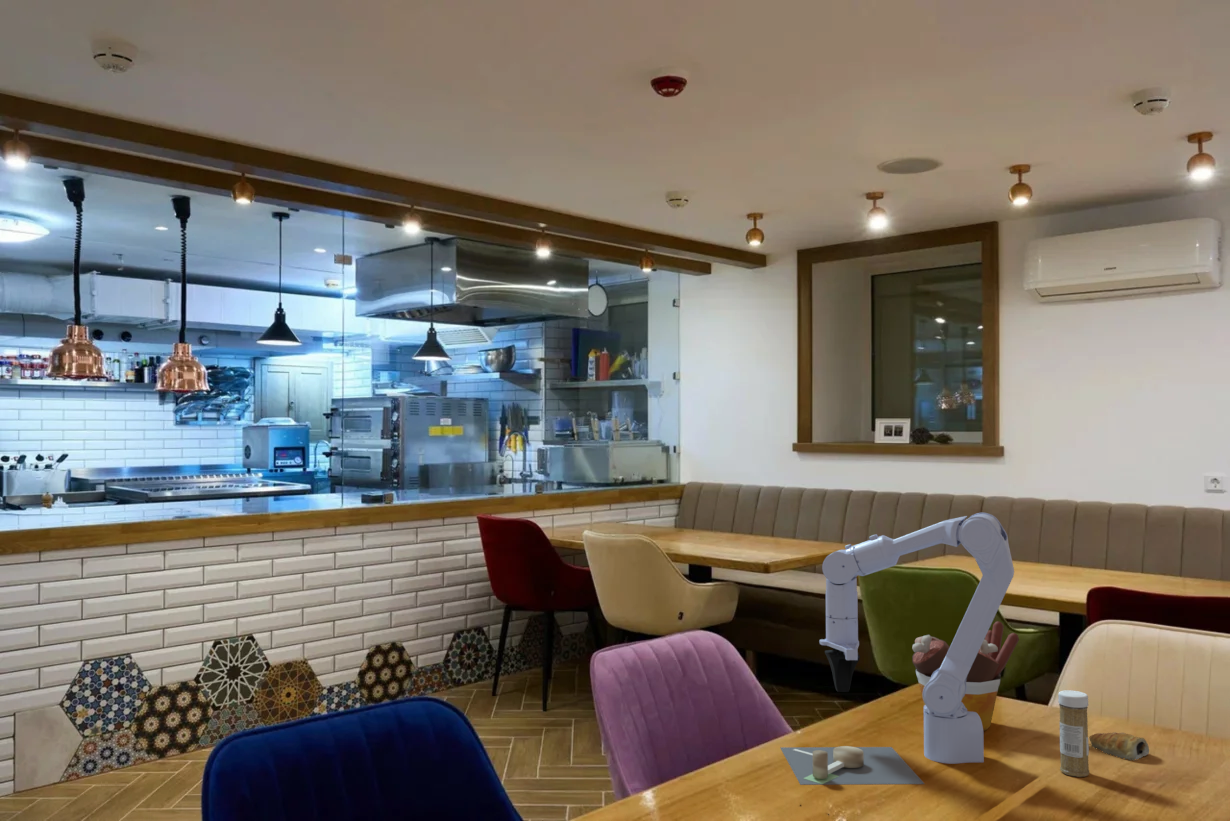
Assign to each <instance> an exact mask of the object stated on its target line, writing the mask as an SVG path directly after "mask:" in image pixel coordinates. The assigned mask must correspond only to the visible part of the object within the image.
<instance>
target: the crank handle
mask: <svg viewBox="0 0 1230 821" xmlns="http://www.w3.org/2000/svg"><path fill="white" fill-rule="evenodd" d="M835 747H836V748H834V749H833V762H834V763H832V764H830V765H828V753H827V752H826V751H822V750H815V751H813V777H815V778H818V779H825V778H827V777H828V774H830V773H832V772H834V771H836V770H838V769H840V768H842V767H845V768H858V767H861V766H863V765H864V752H863V750H861V749H859V748H856V747H857V746H850V745H842V746H835Z"/></svg>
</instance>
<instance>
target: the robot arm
mask: <svg viewBox="0 0 1230 821" xmlns="http://www.w3.org/2000/svg"><path fill="white" fill-rule="evenodd" d="M967 517H968V515H964V516H960V517H955V518H949V519H945V520H942V521H940V522H937V523H934V524H931V525H929V526H926V527H923V528H921V529H918V530H915V531H913V532H910V533H907V534H904V535H902V536H899V537H897V538H891V537H889V536H886V535H885V534H882V535H879V536H878V534H877V533H876V534H872V535H870V536H869V537H868V540H866V541H863V542H860V543H857V544H854V545H852V543H849V544H847V545H844V548H845V549H839V550H835V551H833V552H832V553H830V554H828V555H827V556H826V557H825V558H824V560H823V562H822V566H821V567H822V573H823V576H824V578H825V638H824V639H823V638H821V639H819V645H821V646H827V647H830V648H832V649H828V650H826V649H825V650H824V654H825V655H826V656H825V657H826V658H827V661H828V663H829V666H830V670H831V672H832V673H831V674H832V679H833V684H834V687H835V690H836V691H837V693H849V692H850V688H851V685H852V679H853V675H854V671H855V669H856V667H857V664H858V662H859V661H860V658H861V656H860V654H859V652H858V649H859V646H860V641H859V620H858V618H859V615H858V614H859V613H858V612H859V611H858V608H859V607H858V605H859V604H858V603H859V602H858V598H859V597H858V589H857V588H858V584H857V582H858V580H857V579H858V578H857V577H858V576H859V577H865V576H868V575H870V574H873V573H877V572H880V571H883V570H885V569H886V570H887V569H888V568H892V567H895V566H896V565H897V563H898V562H899V558H900V556H901V557H902V556H904V555H907V554H910V553H913V552H917V551H920V550H925V549H927V548H930V547H934V546H937V545H940V544H944V545H949V546H952V547H954V548H957V547H959V546H960V545H962V547H963V548H964V549H965V550H966V551H967V552H968V553H969V554H970V555H971V556H972V557H973V559H975V562H976V564H977V566H978V568H979V570H980V572H981V574H982V576H981V578H980V581H979V583H978V585H977V587H976V589H975V592H974V594H973V595H972V598H971V600H970V602H969V604H968V607H967V608H966V611H965V613H964V615H963V618H962V620H961V622H960V624H959V626H958V628H957V630H956V633H955V635H954V637H953V639H952V642H951V644H950V645H949V647H950V648H949V650H948V652H947V654H946V656H945V659H944V661H943V663H942V665H941V667H940V668H939V669H937V670H936V671H935V672H934V673H933V674H932V675H931V678H930V681H929V682H928V683H927V684H926V685H925V687H924V689H923V698H922V701H923V700H924V703H925V706H924V705H923V754H924V757H925V758H926V759H928V760H930V761H933V762H937V763H939V764H940V763H941V764H948V765H949V764H950V765H951V764H952V765H953V764H955V765H956V764H965V763H984V762H985V761H984V760H985V759H984V758H985V757H984V756H985V755H984V752H985V751H984V749H985V747H984V746H985V745H984V742H985V741H984V731H983V726H982V722H981V719H980V717H979V715H978V714H977V713H976V712H971V711H967V708H965V706H964V704H963V703H962V702H961V700H962V698H963V697H964V696H965V693H966V690H967V685H966V678H967V675H968V673H969V671H970V669H971V666H972V664H973V662H974V660H975V658H976V656H977V653H978V651H979V649H980V647H981V645H982V643H983V641H984V640H985V636H986V634H987V632H988V631H989V630H990V628H991V626H992V623H993V621H994V619H995V617H996V614H997V612H998V611H999V608H1000V606H1001V604H1002V601H1003V599H1004V597H1005V595H1006V594H1007V591H1008V589H1009V587H1010V584H1011V582H1012V580H1013V578H1014V575H1015V567H1014V564H1013V563H1014V562H1013V559H1012V558H1013V557H1012V555H1011V554H1012V553H1011V550H1010V545H1009V537H1008V536H1009V535H1008V533H1007V532H1006V530H1005V528H1004V527H1003V525H1002V524H1001V522H1000V521H999V519H998V518H997V517H996V516H995V515H993V514H992V513H991V514H990V513H987V512H977V513H974V514H972V515H970V516H969V517H968V518H967ZM924 703H923V704H924Z"/></svg>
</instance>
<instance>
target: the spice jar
mask: <svg viewBox="0 0 1230 821" xmlns="http://www.w3.org/2000/svg"><path fill="white" fill-rule="evenodd" d="M1057 695H1058V706H1059V752H1060V766H1059V770H1060V772H1061V773H1063V774H1065V775H1068V776H1070V777H1074V778H1075V777H1077V778H1083V777H1084V778H1085V777H1088V776H1089V774H1090V769H1089V764H1090V763H1089V755H1090V750H1089V748H1090V746H1089V736H1088V735H1089V733H1088V732H1089V730H1088V729H1089V728H1088V726H1089V724H1088V722H1089V721H1088V720H1089V719H1088V706H1089V696H1088V694H1087V693H1085V692H1082V691H1078V690H1070V689H1069V690H1067V689H1065V690H1061V691H1059V692H1058V694H1057Z"/></svg>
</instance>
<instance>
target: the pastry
mask: <svg viewBox="0 0 1230 821" xmlns="http://www.w3.org/2000/svg"><path fill="white" fill-rule="evenodd" d="M1088 740H1089V741H1090V744H1091V747H1093V748H1094V749H1096V748H1097V749H1096V750H1098V749H1099V751H1100V750H1101V751H1100V752H1102V751H1103V752H1102V753H1104V754H1106V753H1107V754H1106V755H1110V754H1111V755H1110V756H1113V755H1114V756H1113V757H1116V756H1117V757H1116V758H1119V757H1120V758H1119V759H1123V758H1125V759H1124V760H1126V759H1128V760H1127V761H1132V760H1133V761H1138V760H1137V759H1139V758H1140V759H1141V758H1144V757H1146V756H1148V755H1149V754H1150V747H1149V746H1150V745H1149V744H1148V741H1147V740H1146V738H1145V737H1139V736H1135V735H1132V734H1129V733H1125V732H1116V731H1113V732H1108V733H1105V732H1103V733H1101V732H1098V733H1094V734H1092V735H1089V736H1088ZM1143 756H1144V757H1143ZM1135 759H1136V760H1135ZM1140 759H1139V760H1140Z"/></svg>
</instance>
